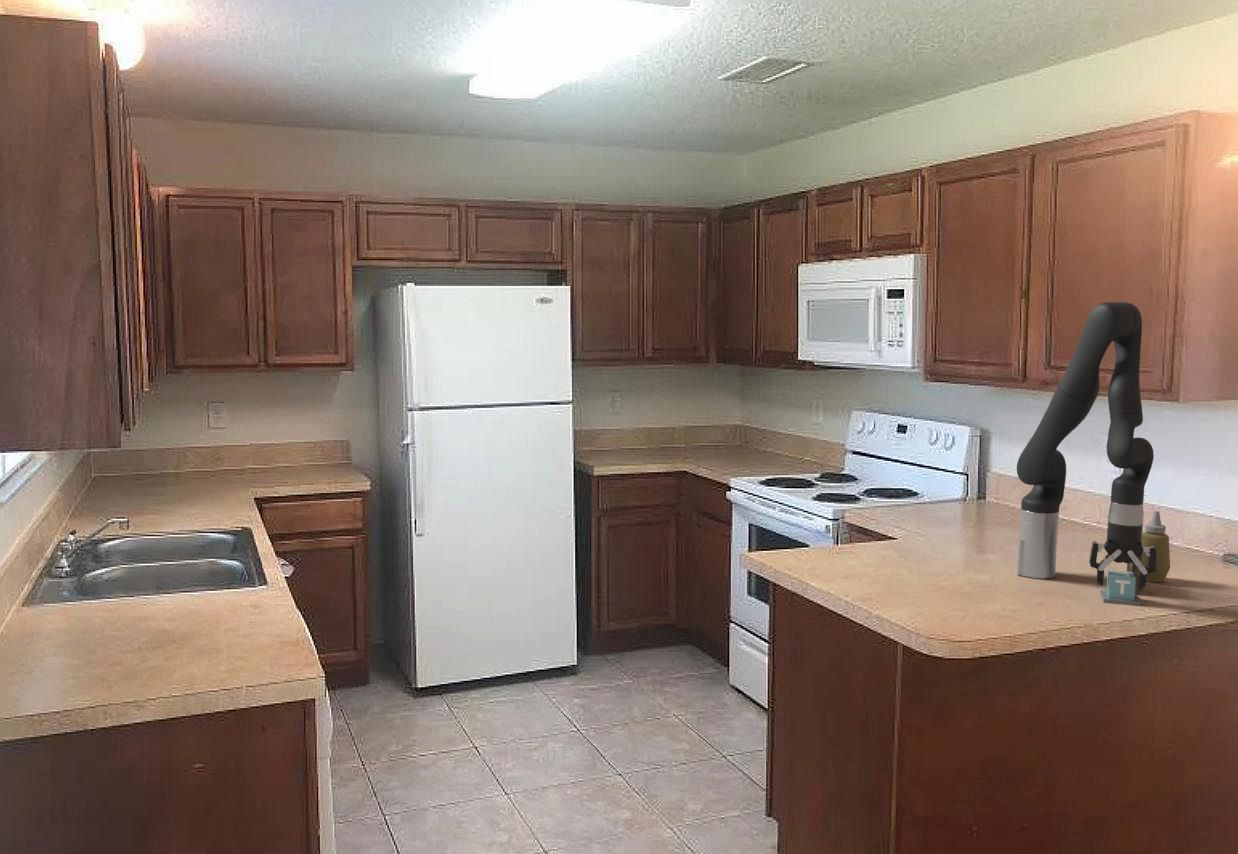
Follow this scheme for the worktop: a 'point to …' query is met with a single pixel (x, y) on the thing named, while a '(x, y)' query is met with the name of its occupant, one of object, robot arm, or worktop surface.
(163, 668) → the worktop surface
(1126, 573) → the cube
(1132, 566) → the screen
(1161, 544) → the squeeze bottle
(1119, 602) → the coaster
